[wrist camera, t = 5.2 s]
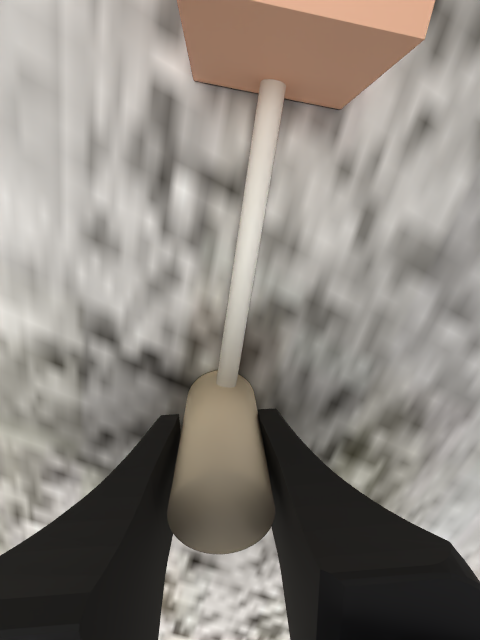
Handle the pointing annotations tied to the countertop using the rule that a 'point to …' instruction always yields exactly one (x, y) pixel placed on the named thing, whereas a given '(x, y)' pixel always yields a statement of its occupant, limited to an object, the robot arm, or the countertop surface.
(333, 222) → the countertop surface
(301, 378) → the countertop surface
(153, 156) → the countertop surface
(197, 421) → the cord block
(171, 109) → the countertop surface
